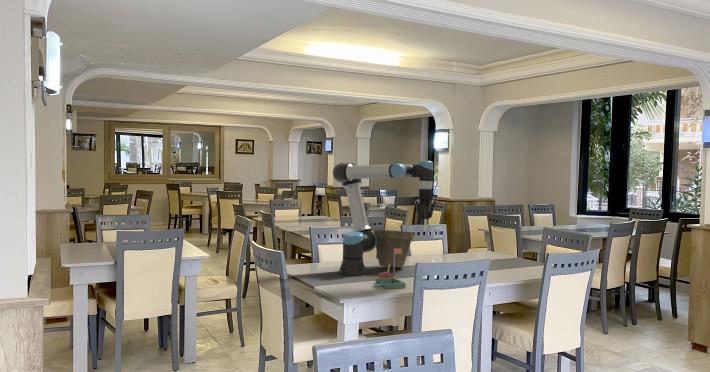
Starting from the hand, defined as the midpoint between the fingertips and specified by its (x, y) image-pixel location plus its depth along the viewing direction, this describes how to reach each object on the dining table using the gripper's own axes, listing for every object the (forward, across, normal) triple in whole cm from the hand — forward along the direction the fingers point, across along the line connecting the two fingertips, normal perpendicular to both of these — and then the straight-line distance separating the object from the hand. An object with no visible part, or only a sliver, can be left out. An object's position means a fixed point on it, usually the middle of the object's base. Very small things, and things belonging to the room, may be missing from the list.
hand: (424, 230), depth 314 cm
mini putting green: (+26, -25, -15) cm, 39 cm away
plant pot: (+26, -6, +30) cm, 40 cm away
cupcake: (+27, -29, -15) cm, 42 cm away
